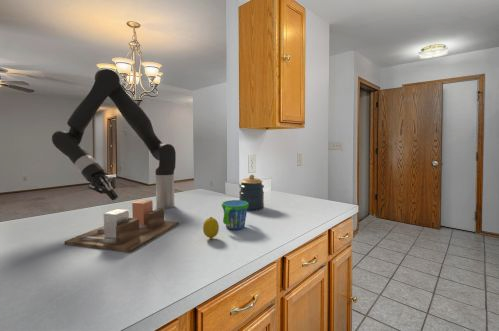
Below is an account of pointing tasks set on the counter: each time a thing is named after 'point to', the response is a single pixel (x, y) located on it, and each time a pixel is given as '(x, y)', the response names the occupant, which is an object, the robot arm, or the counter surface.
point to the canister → (252, 193)
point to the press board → (127, 233)
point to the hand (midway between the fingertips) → (115, 198)
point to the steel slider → (114, 221)
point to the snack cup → (235, 214)
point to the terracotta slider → (141, 210)
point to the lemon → (210, 227)
